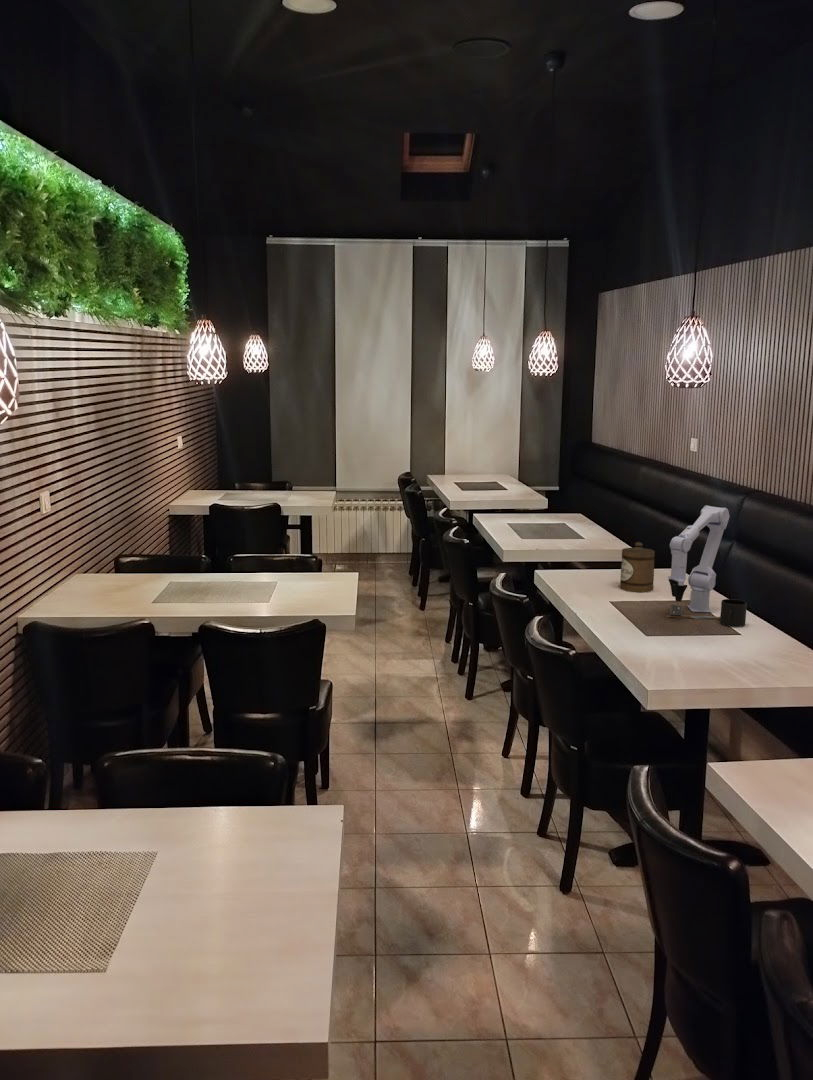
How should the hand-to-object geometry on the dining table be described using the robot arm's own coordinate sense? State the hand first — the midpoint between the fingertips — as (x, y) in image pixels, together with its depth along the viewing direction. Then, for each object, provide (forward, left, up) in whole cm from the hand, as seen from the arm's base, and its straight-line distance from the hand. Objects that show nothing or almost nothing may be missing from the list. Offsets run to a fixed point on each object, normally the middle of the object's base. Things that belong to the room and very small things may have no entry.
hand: (676, 598), depth 352 cm
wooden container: (-47, -9, -8) cm, 48 cm away
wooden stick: (+1, +10, -7) cm, 13 cm away
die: (0, 0, -7) cm, 7 cm away
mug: (+9, +20, -8) cm, 23 cm away
